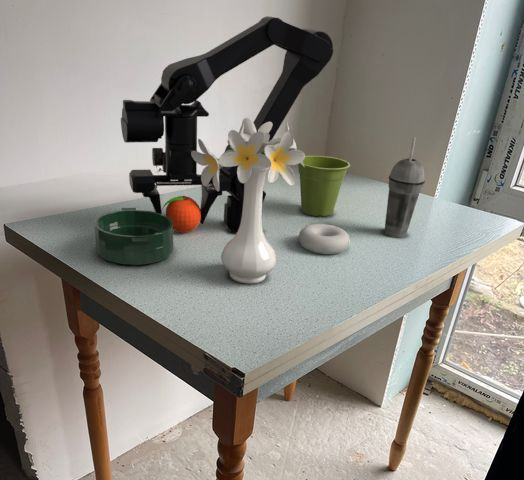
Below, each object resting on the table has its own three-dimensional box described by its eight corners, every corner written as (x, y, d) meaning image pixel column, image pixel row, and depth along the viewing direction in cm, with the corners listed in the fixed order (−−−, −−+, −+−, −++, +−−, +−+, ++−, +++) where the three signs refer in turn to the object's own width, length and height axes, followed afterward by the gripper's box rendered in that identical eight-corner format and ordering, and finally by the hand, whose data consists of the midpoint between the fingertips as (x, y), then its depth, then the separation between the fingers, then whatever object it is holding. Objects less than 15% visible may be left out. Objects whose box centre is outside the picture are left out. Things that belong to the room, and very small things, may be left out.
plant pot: (345, 208, 132) (353, 159, 126) (338, 224, 122) (346, 171, 116) (296, 200, 134) (301, 152, 128) (285, 215, 124) (291, 163, 118)
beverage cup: (415, 232, 121) (437, 135, 111) (408, 242, 116) (431, 141, 105) (382, 225, 124) (401, 130, 113) (374, 234, 118) (393, 135, 107)
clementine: (168, 240, 107) (168, 203, 103) (155, 228, 111) (154, 192, 108) (206, 235, 110) (207, 199, 106) (192, 223, 115) (192, 189, 111)
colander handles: (135, 211, 105) (135, 207, 105) (148, 244, 92) (148, 240, 92) (121, 211, 104) (121, 207, 104) (132, 245, 91) (132, 241, 91)
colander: (166, 236, 108) (165, 208, 105) (179, 265, 97) (179, 235, 95) (94, 239, 104) (91, 210, 101) (99, 269, 93) (97, 238, 91)
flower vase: (179, 279, 93) (179, 118, 79) (256, 253, 105) (267, 109, 91) (234, 308, 86) (244, 137, 72) (310, 277, 97) (330, 125, 84)
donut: (342, 261, 105) (352, 243, 113) (345, 244, 103) (355, 226, 111) (291, 251, 107) (305, 233, 115) (293, 234, 105) (307, 217, 113)
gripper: (220, 132, 111) (217, 209, 119) (123, 131, 105) (128, 212, 114) (235, 145, 102) (231, 227, 110) (131, 145, 97) (135, 232, 105)
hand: (181, 224), depth 110 cm, fingers closed on clementine, 8 cm apart
